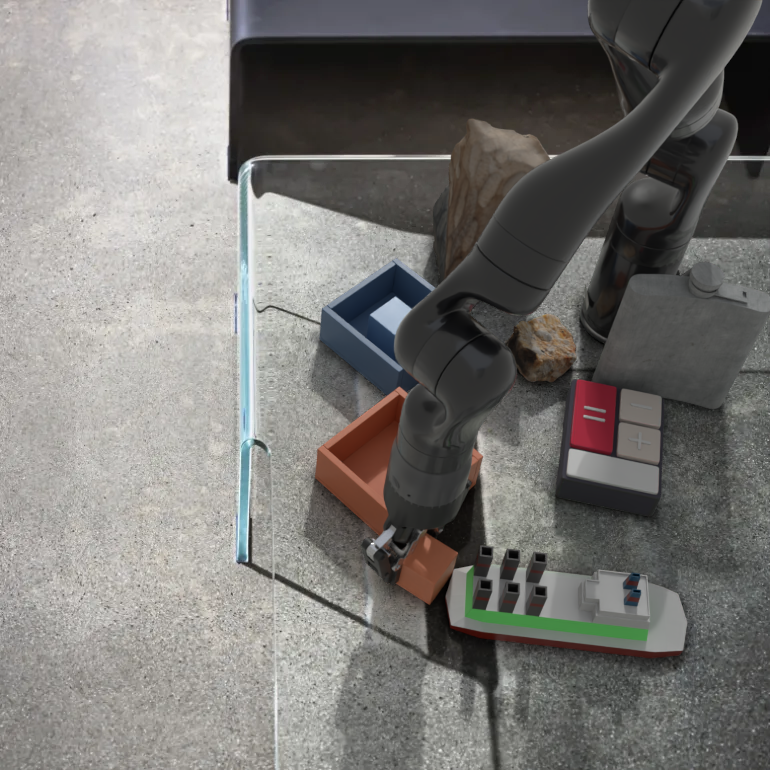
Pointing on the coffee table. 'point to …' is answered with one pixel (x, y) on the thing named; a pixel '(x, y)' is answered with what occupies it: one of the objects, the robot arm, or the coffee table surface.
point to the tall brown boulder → (478, 187)
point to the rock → (542, 348)
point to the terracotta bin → (367, 460)
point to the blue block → (386, 325)
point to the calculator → (611, 448)
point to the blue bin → (351, 316)
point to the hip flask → (682, 335)
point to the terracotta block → (427, 568)
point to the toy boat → (565, 607)
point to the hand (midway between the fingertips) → (406, 562)
